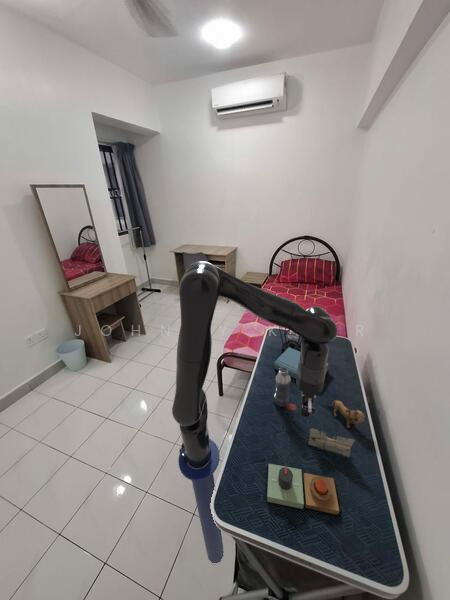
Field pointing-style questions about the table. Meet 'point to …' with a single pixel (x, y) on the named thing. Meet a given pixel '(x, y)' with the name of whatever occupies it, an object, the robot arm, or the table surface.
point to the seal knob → (285, 478)
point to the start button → (321, 486)
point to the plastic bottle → (282, 387)
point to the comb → (330, 442)
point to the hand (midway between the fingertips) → (304, 414)
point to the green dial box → (282, 496)
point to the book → (290, 362)
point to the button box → (317, 500)
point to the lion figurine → (348, 413)
